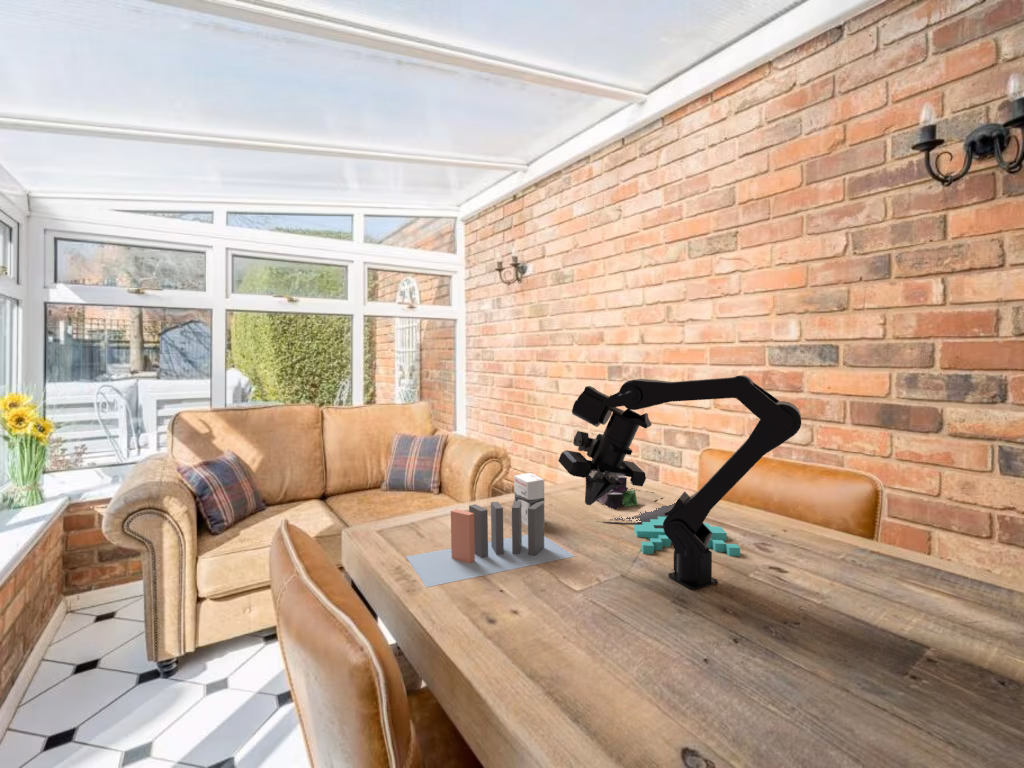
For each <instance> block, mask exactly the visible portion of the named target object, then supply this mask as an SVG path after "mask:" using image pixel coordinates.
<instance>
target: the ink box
mask: <svg viewBox="0 0 1024 768" xmlns="http://www.w3.org/2000/svg"><path fill="white" fill-rule="evenodd" d="M513 486H514V487H513V490H514V491H513V495H514V498H513V500H514V501H521V522H522V524H523V525H525V526H526V527H528V508H529V507H531V506H532V505H534V504H535V503H537V502H540V503H544V525H545V524H546V518H545V517H546V515H545V512H546V511H545V508H546V507H545V479H544V478H541V477H540V476H538V475H536V474H534V473H532V472H528V473H527V472H526V473H520V474H515V475H513ZM514 501H513V502H514Z"/></svg>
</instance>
